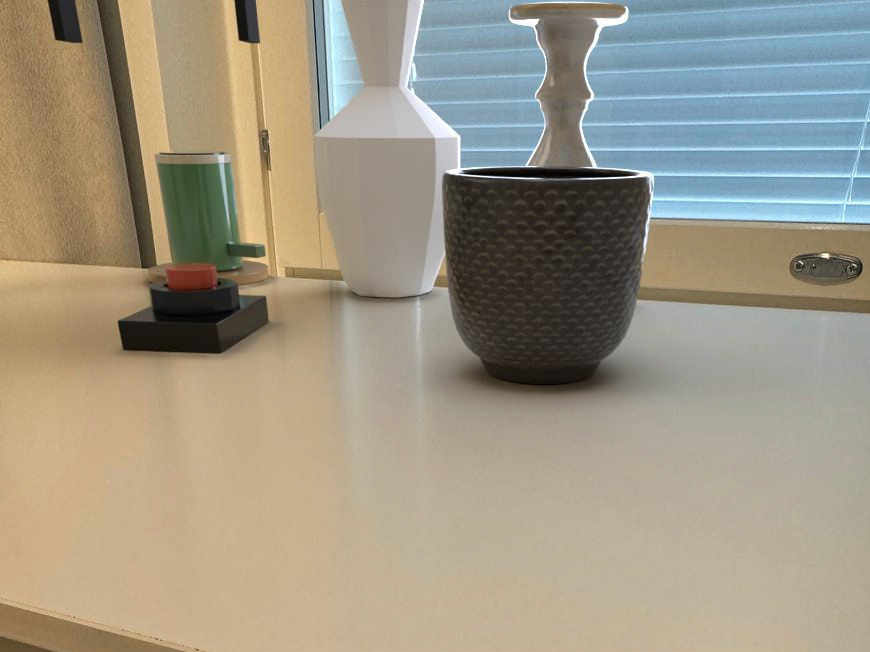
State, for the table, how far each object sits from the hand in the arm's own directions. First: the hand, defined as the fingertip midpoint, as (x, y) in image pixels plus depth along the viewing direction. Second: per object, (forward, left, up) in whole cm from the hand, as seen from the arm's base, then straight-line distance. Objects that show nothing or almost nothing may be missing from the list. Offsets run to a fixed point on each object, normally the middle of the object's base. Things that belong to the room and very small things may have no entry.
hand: (158, 42), depth 65 cm
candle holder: (+29, +18, -21) cm, 40 cm away
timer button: (0, -1, -17) cm, 17 cm away
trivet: (-10, +27, -20) cm, 35 cm away
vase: (+12, +22, -21) cm, 32 cm away
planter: (+29, -9, -21) cm, 37 cm away
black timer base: (0, -1, -21) cm, 21 cm away
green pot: (-8, +26, -19) cm, 33 cm away
